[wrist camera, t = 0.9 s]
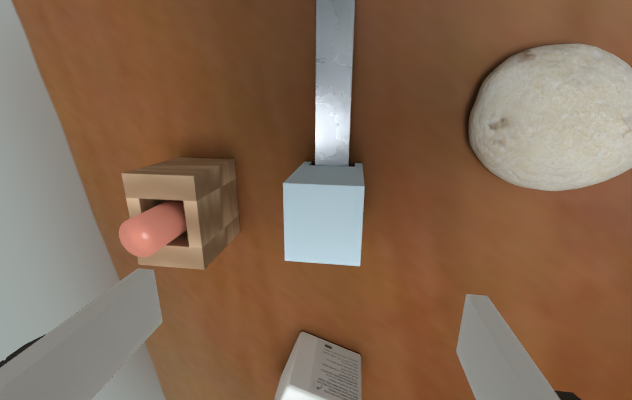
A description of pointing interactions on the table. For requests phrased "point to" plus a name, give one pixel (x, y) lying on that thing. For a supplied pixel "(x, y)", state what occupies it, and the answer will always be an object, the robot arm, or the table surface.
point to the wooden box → (189, 207)
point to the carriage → (324, 214)
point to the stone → (555, 118)
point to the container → (320, 372)
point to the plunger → (153, 228)
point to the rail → (333, 80)
